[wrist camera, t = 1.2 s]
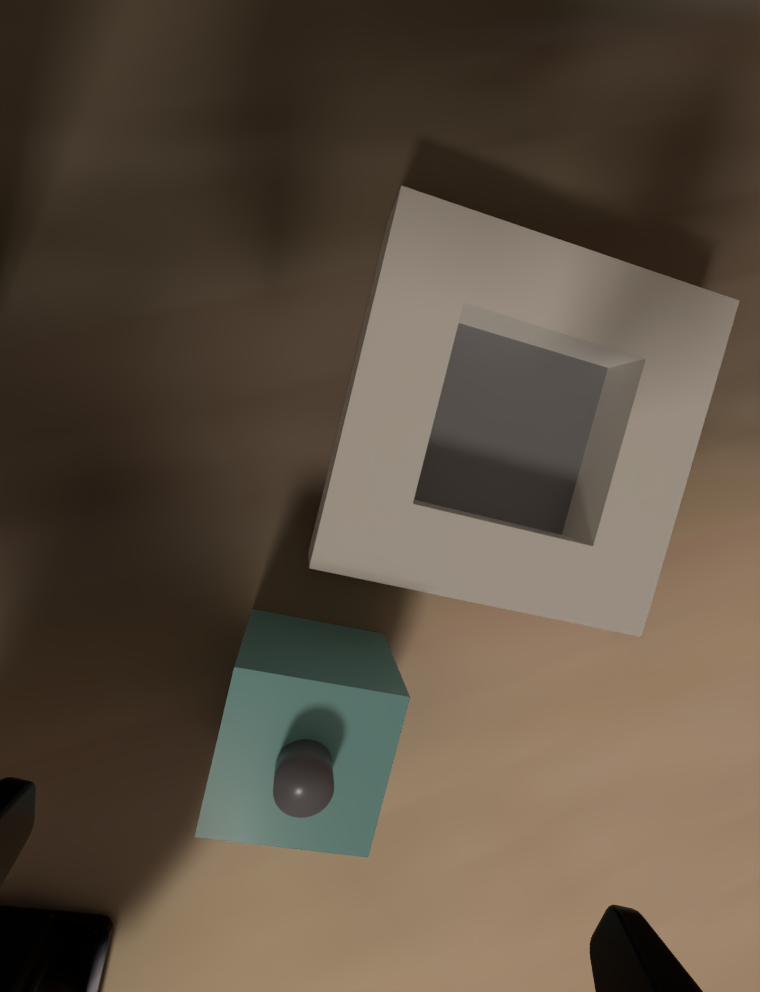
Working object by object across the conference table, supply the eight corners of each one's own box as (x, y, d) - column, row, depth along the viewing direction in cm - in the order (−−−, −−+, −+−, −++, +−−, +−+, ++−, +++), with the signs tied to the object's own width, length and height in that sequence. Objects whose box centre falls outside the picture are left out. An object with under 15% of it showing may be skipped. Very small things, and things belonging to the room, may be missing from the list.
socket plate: (602, 614, 21) (641, 637, 18) (308, 551, 19) (308, 568, 17) (686, 317, 20) (739, 300, 18) (388, 219, 18) (401, 185, 16)
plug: (352, 755, 20) (372, 886, 14) (222, 735, 19) (186, 866, 13) (383, 633, 20) (417, 715, 14) (252, 607, 19) (229, 684, 13)
